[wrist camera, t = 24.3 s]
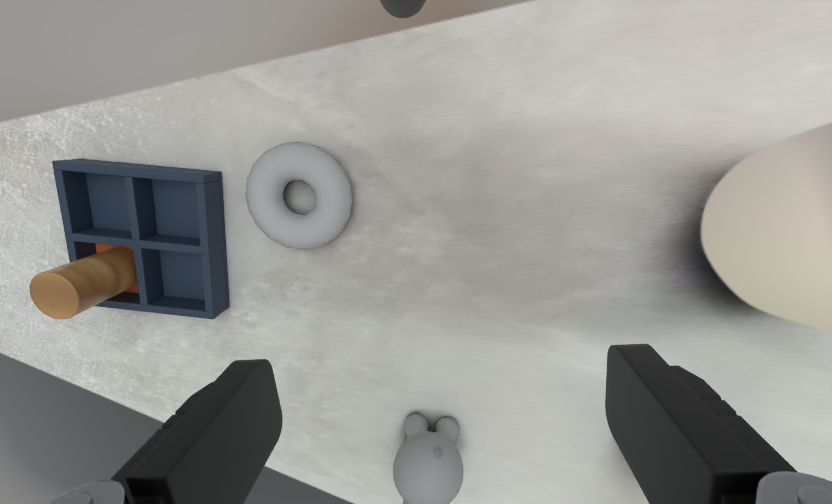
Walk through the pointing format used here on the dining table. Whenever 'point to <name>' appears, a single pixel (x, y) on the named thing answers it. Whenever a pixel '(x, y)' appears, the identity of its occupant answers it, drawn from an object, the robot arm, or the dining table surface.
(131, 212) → the grid
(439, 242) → the dining table surface
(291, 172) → the donut
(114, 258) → the wooden dowel cylinder
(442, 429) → the chubby cartoon animal
